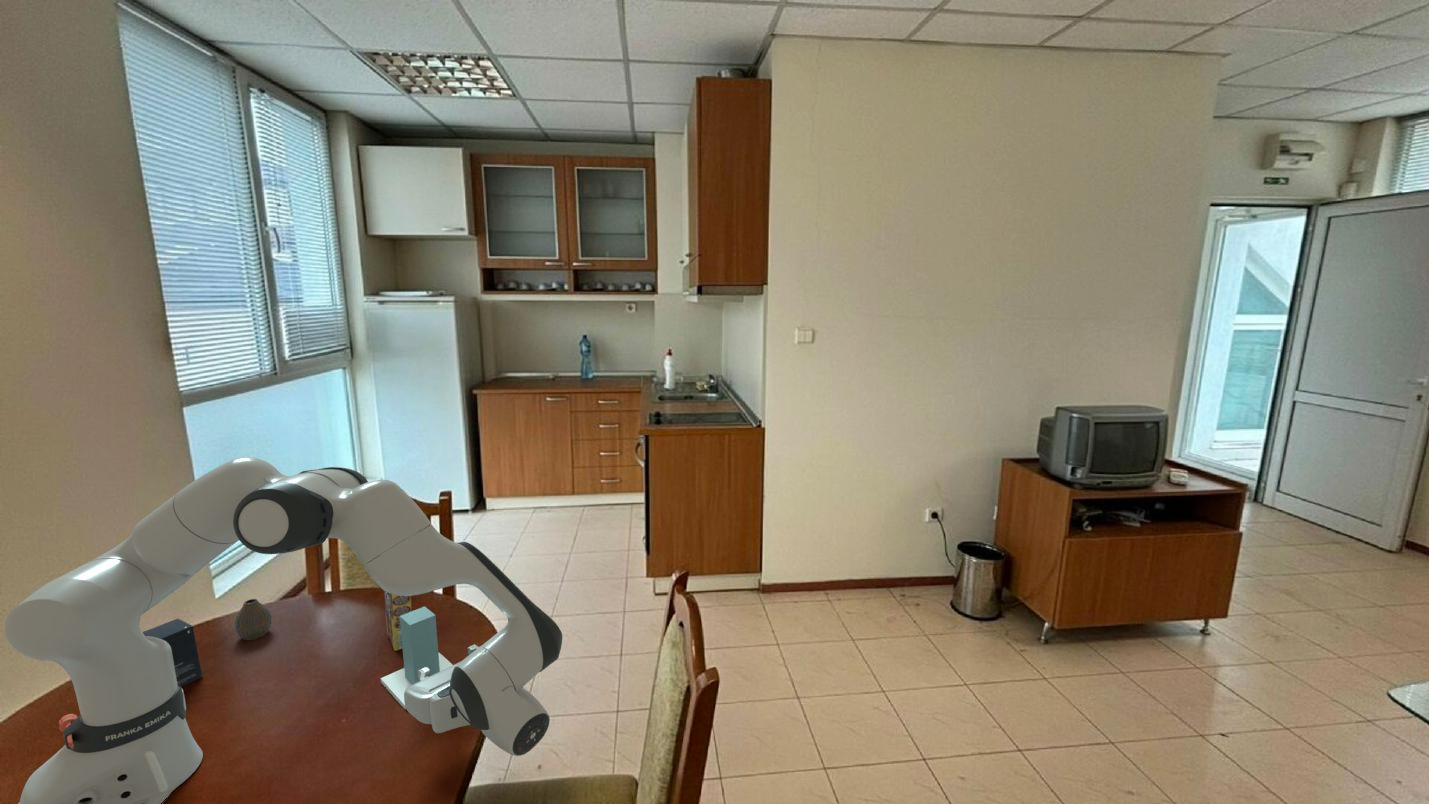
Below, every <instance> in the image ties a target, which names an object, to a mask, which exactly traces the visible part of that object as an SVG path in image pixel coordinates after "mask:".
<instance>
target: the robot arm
mask: <svg viewBox="0 0 1429 804" xmlns="http://www.w3.org/2000/svg"><path fill="white" fill-rule="evenodd" d="M327 539H337V540H341V541H342V542H344V543H345V544H347V545H348V546H349V547H350V549H351V550H352V551H353V553H354V554H355V556H356V557H357V558H358V560H359V562H360V563H361V565H362V566H363V567H364V569H365V570H366V572H367V573H368V574H369V576H370V577H371V578H372V580H373V581H375V583H376V585H377V586H378V587H380V588H381V589H382V590H383V592H384V591H386V592H388V593H391V594H394V595H399V596H411V597H412V596H419V595H423V594H427V593H431V592H434V591H439V590H441V589H444V588H447V587H452V586H457V585H463V584H464V585H470V586H473V587H475V588H477V589H478V590H479V591H481V593H483V594H484V596H485V597H486V598H488V600H490V601H491V602H492V603H493V604H494V606H495V607H496V608H497V609H499V611H500V612H501V613H502V614H503V615H505V617H506V618H507V624H506V625H505V626H504V627H503V628H502V629H501V630H499V631H498V632H496V634H494V635H493V636H491V638H489V639H488V640H487V641H486V642H484V643H483V644H481V646H478V645H476V644H475V643H474V644H473V645H470V646H469V647H468V646H467V656H466V657H465V658H464V659H463V660H461V661H458V662H457V663H455V664H452V665H453V666H451V667H448V668H446V669H444V670H442V671H440V672H438V673H436V674H434V675H432V676H430V670H429V669H428V668H427V667H425V668H422V669H420V670H418V676H419V679H420V681H419V682H417V683H415V684H413V685H411V686H409V687H407V688H406V690H405V692H404V701H405V707H406V709H405V710H407V711H408V713H409V714H410V715H411V716H412V717H414V718H415V719H416V720H418V721H419V722H420V723H422V724H426V725H431V726H432V730H433V732H434V733H436V734H442V733H444V732H447V731H452V730H454V729H458V728H461V727H462V728H463V727H466V726H471V727H472V728H474V729H476V730H477V729H478V730H480V731H481V732H482V734H483V735H484V736H485V737H486V738H487V739H488V740H489V741H490V742H492V743H493V744H494V745H495V746H497V747H498V748H500V749H501V750H502V751H504V752H506V753H508V754H510V755H511V756H515V757H521V756H524V755H526V754H527V753H528V752H530V751H532V750H533V749H534V748H535V747H536V746H537V745H538V744H539V742H541V741H542V739H543V738H544V737H545V735H546V733H547V731H548V729H549V726H550V719H551V718H550V714H549V713H548V712H547V709H546V708H545V707H544V706H543V705H542V703H541V702H540V701H539V700H538V699H537V698H536V696H534V695H533V694H532V693H531V692H530V691H529V690H528V689H526V688H525V686H526V685H527V684H528V683H529V682H530V681H531V680H533V679H534V677H536V676H537V675H538V674H539V673H541V672H543V671H544V670H546V668H549V666H551V665H552V664H553V663H555V662H556V661H557V660H558V659H559V656H560V654H561V650H562V645H563V633H562V630H561V628H560V627H559V626H558V624H557V623H556V621H554V619H553V618H552V617H551V616H549V615H548V614H547V613H545V611H543V610H542V609H541V608H540V607H539V606H538V605H536V604H535V603H534V602H533V601H532V600H531V599H530V598H529V597H528V596H526V594H525V593H524V592H523V591H522V590H521V589H520V588H519V587H518V586H517V585H516V584H515V583H514V582H513V581H512V580H511V579H510V578H509V577H508V576H507V575H506V574H505V573H504V572H503V571H502V570H501V569H500V568H499V566H497V565H496V563H494V562H493V561H492V560H491V559H490V558H489V557H487V555H485V554H484V552H483V551H481V550H480V549H478V548H477V547H476V546H475V545H473V544H471V543H469V542H468V541H461V542H460V541H459V542H455V541H452V540H451V539H449V538H447V537H445V536H444V535H442V534H441V533H440V532H439V531H438V530H437V529H436V528H435V526H434V525H433V524H432V522H431V521H430V519H429V518H428V517H427V515H426V514H425V513H424V511H422V509H421V507H419V505H418V504H417V503H416V502H415V501H414V500H413V498H412V497H410V496H409V494H408V493H407V492H406V491H405V490H403V488H401V487H400V485H398V484H397V483H396V482H394V481H393V480H392V481H391V480H389V479H375V480H370V481H368V480H367V478H366V477H365V476H364V475H363V474H362V473H360V472H359V471H356V470H354V469H351V468H347V467H341V466H340V467H337V466H336V467H335V466H332V467H331V466H329V467H323V468H317V469H316V468H315V469H309V470H303V471H301V472H299V473H298V474H294V475H290V476H288V475H285V474H282V473H281V472H280V471H279V470H278V468H276V467H275V466H274V465H272V464H271V463H270V462H268V461H267V460H264V459H260V458H258V457H257V458H256V457H253V456H252V457H250V456H247V457H246V456H243V457H238V458H235V459H232V460H230V461H227V462H225V463H223V464H220V465H219V466H217V467H215V468H213V469H210V470H209V471H208V472H206V473H204V474H202V475H201V476H199V477H198V478H196V479H195V480H193V481H192V482H190V483H189V484H188V485H186V486H184V488H182V489H180V490H179V491H178V492H177V493H175V494H174V495H172V496H171V497H170V498H168V499H167V500H166V501H165V502H164V503H162V504H160V505H159V506H158V507H157V508H156V509H154V510H152V512H150V513H149V514H148V515H146V516H145V517H144V518H143V519H141V520H140V521H138V522H137V523H136V525H135V526H134V527H133V528H132V533H131V534H130V535H128V537H127V538H126V539H124V540H123V541H121V543H119V544H117V545H116V546H114V547H112V548H111V549H110V550H108V551H106V552H105V553H103V554H100V555H99V556H97V557H96V558H94V559H92V560H90V561H89V562H86V563H84V564H83V565H81V566H79V567H76V568H74V569H73V570H70V571H68V572H66V573H65V574H63V575H61V576H59V577H56V578H54V579H52V580H50V581H49V582H47V583H45V584H43V585H42V586H40V587H39V588H38V589H36V590H35V591H33V593H31V594H30V595H28V596H27V597H26V598H24V600H22V601H21V602H20V603H19V604H17V605H16V606H15V607H14V608H13V609H12V610H11V611H10V612H9V614H8V615H7V617H6V620H5V623H4V633H5V634H4V635H5V637H6V640H7V643H8V644H9V645H10V647H11V648H12V649H13V650H15V651H16V652H17V653H18V654H21V655H22V656H24V657H26V658H29V659H32V660H37V661H42V662H45V661H46V662H54V663H56V664H58V665H59V666H60V667H61V668H63V670H64V671H65V672H66V673H67V674H68V677H69V678H70V680H71V682H72V685H73V688H74V693H75V697H76V700H77V704H78V705H77V706H78V709H79V713H80V715H79V716H78V715H77V714H74V713H68V714H66V715H63V716H62V717H60V719H59V721H58V726H59V727H58V729H59V731H60V732H63V739H64V745H63V747H61V748H60V749H59V750H58V751H57V752H56V753H55V754H53V755H52V756H51V757H50V758H49V759H47V761H45V762H44V763H43V764H41V766H40V767H38V768H37V769H36V770H35V771H34V772H33V773H32V774H31V775H30V776H29V778H28V779H27V781H26V782H25V785H24V787H23V789H22V793H21V794H20V799H19V802H18V803H17V804H161V803H162V802H163V801H164V800H165V799H166V798H167V799H168V797H169V796H170V794H172V792H173V791H174V790H175V789H176V788H178V787H179V786H180V785H181V784H183V783H184V782H186V780H188V779H189V778H190V777H191V776H192V774H193V773H194V772H196V770H197V769H198V768H199V766H200V764H201V763H202V761H203V757H204V756H203V755H204V754H203V753H204V752H203V750H202V749H201V747H200V746H199V745H198V743H197V741H196V740H195V738H194V737H193V734H192V732H191V730H190V728H189V724H188V721H187V720H186V715H187V704H186V698H185V694H184V690H183V688H182V687H181V685H180V683H179V682H177V679H176V673H175V667H174V661H173V655H172V650H171V647H170V645H169V644H168V643H167V642H166V641H164V640H162V639H159V638H155V637H149V636H145V635H144V634H143V632H144V631H143V630H142V628H141V623H140V621H141V617H142V615H143V614H145V613H147V612H148V611H149V610H150V609H152V608H154V607H155V606H157V605H158V604H160V603H161V602H162V601H164V600H166V599H167V598H168V597H170V596H172V595H173V594H174V593H175V592H176V591H178V590H179V589H180V588H181V587H182V586H184V585H185V584H186V583H187V582H188V581H190V580H191V579H192V578H193V577H194V576H196V575H197V574H198V573H199V572H200V571H201V570H202V569H203V568H205V567H206V566H208V565H209V564H210V563H212V562H213V561H214V560H215V559H216V558H218V557H219V556H221V555H222V554H223V553H224V552H225V551H227V550H228V549H230V548H231V547H232V546H233V545H235V544H237V542H240V543H241V544H242V545H243V546H244V547H245V548H247V549H249V550H251V552H254V553H258V554H262V555H280V554H287V553H293V552H297V551H300V550H303V549H306V548H310V547H315V546H318V545H321V544H323V543H325V541H326V540H327ZM167 799H166V800H167ZM166 800H165V801H166ZM165 801H164V802H165ZM164 802H163V803H164ZM163 803H162V804H163Z"/></svg>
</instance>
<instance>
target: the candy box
mask: <svg viewBox="0 0 1429 804" xmlns="http://www.w3.org/2000/svg"><path fill="white" fill-rule="evenodd" d="M383 595H384V607H385V608H384V610H385V622H386V634H387V636H388V639H389V640H390V641H389V642H390V644H391V645H392V648H393V650H394V651H395V652H397V651H400V650H403V648H402V637H401V626H400V616H401V615H404V614H406V613H409V612H411V611H413V610H412V596H399V595H394V594H391V593H388V592H386V591H384V590H383Z"/></svg>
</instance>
